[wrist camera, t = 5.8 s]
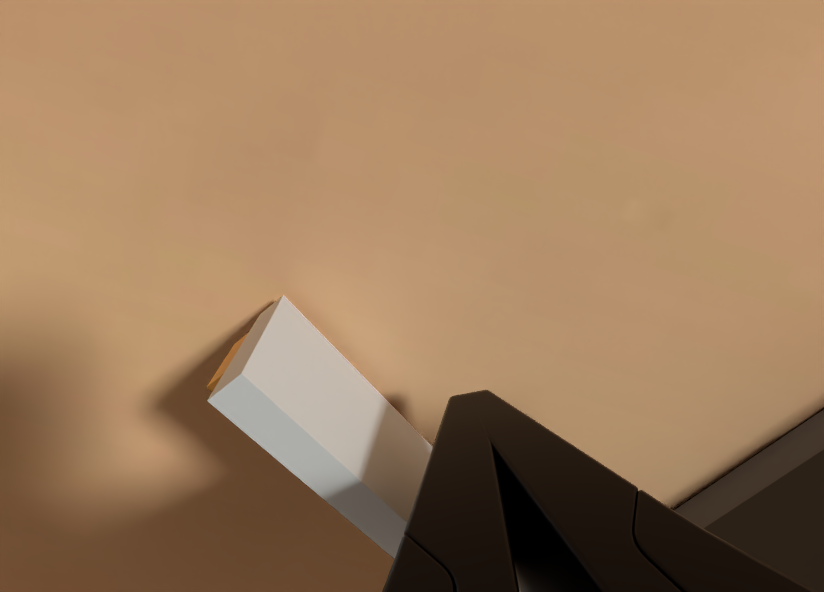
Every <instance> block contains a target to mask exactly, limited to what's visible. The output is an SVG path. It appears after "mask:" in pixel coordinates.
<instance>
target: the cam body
mask: <svg viewBox="0 0 824 592" xmlns="http://www.w3.org/2000/svg"><path fill="white" fill-rule="evenodd" d="M674 511H675V512H677V513H679V514H680V515H682V516H683V517H685V518H687V519H688V520H690V521H692V522H693V523H695V524H696V525H698V526H700V527H701V528H703V529H705V530H706V531H708V532H710V533H712V534H713V535H715V536H717V537H719V538H720V539H722V540H724V541H726V542H727V543H729V544H731V545H733V546H735V547H736V548H738V549H740V550H742V551H743V552H745V553H747V554H749V555H750V556H752V557H754V558H756V559H758V560H760V561H761V562H763V563H765V564H767V565H769V566H771V567H772V568H774V569H776V570H778V571H780V572H782V573H783V574H785V575H787V576H789V577H791V578H793V579H795V580H796V581H798V582H800V583H802V584H804V585H806V586H807V587H809V588H811V589H813V590H815V591H817V592H824V410H822V411H821V412H819V413H818V414H816V415H815V416H813V417H812V418H810V419H809V420H807V421H806V422H804V423H803V424H801V425H800V426H798V427H797V428H795V429H794V430H793V431H791V432H790V433H788V434H787V435H785V436H784V437H782V438H781V439H779V440H778V441H776V442H775V443H773V444H772V445H770V446H769V447H767V448H766V449H764V450H763V451H761V452H760V453H758V454H757V455H755V456H754V457H752V458H751V459H749V460H748V461H747V462H745V463H744V464H742V465H741V466H739V467H738V468H736V469H735V470H733V471H732V472H730V473H729V474H727V475H726V476H724V477H723V478H721V479H720V480H718V481H717V482H715V483H714V484H712V485H711V486H709V487H708V488H706V489H705V490H704V491H702V492H701V493H699V494H698V495H696V496H695V497H693V498H692V499H690V500H689V501H687V502H686V503H684V504H683V505H681V506H680V507H678V508H677V509H675V510H674Z"/></svg>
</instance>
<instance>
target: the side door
mask: <svg viewBox="0 0 824 592" xmlns="http://www.w3.org/2000/svg"><path fill="white" fill-rule="evenodd" d="M206 388H208V389H209V390H210V391H211V392H212V393H211V395H210V397H209V398H208V400H207V401H208V402H209V403H210V404H211V405H212V406H214V407H215V408H216V409H217V410H218V411H220V412H221V413H222V414H223V415H224V416H226V417H227V418H228V419H229V420H230V421H231V422H233V423H234V424H235V425H236V426H237V427H239V428H240V429H241V430H242V431H243V432H244V433H246V434H247V435H248V436H249V437H250V438H252V439H253V440H254V441H255V442H256V443H257V444H259V445H260V446H261V447H262V448H263V449H265V450H266V451H267V452H268V453H269V454H271V455H272V456H273V457H274V458H275V459H276V460H278V461H279V462H280V463H281V464H282V465H284V466H285V467H286V468H287V469H288V470H289V471H291V472H292V473H293V474H294V475H295V476H297V477H298V478H299V479H300V480H301V481H302V482H304V483H305V484H306V485H307V486H308V487H310V488H311V489H312V490H313V491H314V492H316V493H317V494H318V495H319V496H320V497H321V498H323V499H324V500H325V501H326V502H327V503H329V504H330V505H331V506H332V507H333V508H334V509H336V510H337V511H338V512H339V513H340V514H342V515H343V516H344V517H345V518H346V519H347V520H349V521H350V522H351V523H352V524H353V525H355V526H356V527H357V528H358V529H359V530H361V531H362V532H363V533H364V534H365V535H366V536H368V537H369V538H370V539H371V540H372V541H374V542H375V543H376V544H377V545H378V546H379V547H381V548H382V549H383V550H384V551H385V552H387V553H388V554H389V555H390V556H391V557H392V558H394V559H395V557H396V554H397V551H398V548H399V545H400V542H401V539H402V537H403V536H404V531H405V528H406V525H407V522H408V519H409V516H410V513H411V510H412V507H413V504H414V501H415V498H416V495H417V493H418V490H419V487H420V484H421V481H422V478H423V475H424V472H425V469H426V466H427V463H428V460H429V457H430V454H431V451H432V448H433V447H432V446H431V445H430V444H429V443H428V442H427V441H426V440H425V439H424V438H423V437H422V436H421V435H420V433H419V432H418V431H417V430H416V429H415V428H414V427H413V426H412V425H411V424H410V423H409V422H408V421H407V420H406V419H405V418H404V417H403V416H402V415H401V414H400V413H399V412H398V411H397V410H396V409H395V408H394V407H393V406H392V405H391V404H390V403H389V402H388V401H387V400H386V399H385V398H384V397H383V396H382V395H381V394H380V393H379V392H378V391H377V390H376V389H375V388H374V387H373V386H372V385H371V384H370V383H369V382H368V381H367V380H366V379H365V377H364V376H363V375H362V374H361V373H360V372H359V371H358V370H357V369H356V368H355V367H354V366H353V365H352V364H351V363H350V362H349V361H348V360H347V359H346V358H345V357H344V356H343V355H342V354H341V353H340V352H339V351H338V350H337V349H336V348H335V347H334V346H333V345H332V344H331V343H330V342H329V341H328V340H327V339H326V338H325V337H324V336H323V335H322V334H321V333H320V332H319V331H318V330H317V329H316V328H315V327H314V326H313V325H312V324H311V323H310V321H309V320H308V319H307V318H306V317H305V316H304V315H303V314H302V313H301V312H300V311H299V310H298V309H297V308H296V307H295V306H294V305H293V304H292V303H291V302H290V301H289V300H288V299H287V298H286V297H285V296H284V295H283V296H282V297H280V298H279V299H278V300H277V301H276V302H274V303H273V304H272V305H271V306H269V307H268V308H267V309H266V310H265V311H263V312H262V313H261V314H260V315H259V317H258V318H257V320H256V321H255V323H254V325H253V326H252V328H251V330H250V331H249V332H248V333H247V334H246V335H245V336H244V337H242V338H241V339H240V340H239V341H237V342H236V343H235V344H234V345H233V347H232V348H231V350H230V351H229V353H228V354H227V356H226V358H225V359H224V361H223V362H222V364H221V365H220V367H219V368H218V370H217V371H216V373H215V375H214V376H213V378H212V379H211V381H210V382H209V384H208V385H207V387H206ZM519 591H520V589H519Z"/></svg>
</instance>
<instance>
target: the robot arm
mask: <svg viewBox="0 0 824 592" xmlns="http://www.w3.org/2000/svg"><path fill="white" fill-rule="evenodd" d="M519 589H520V591H519ZM382 592H817V591H815V590H813V589H811V588H809V587H807V586H806V585H804V584H802V583H800V582H798V581H796V580H795V579H793V578H791V577H789V576H787V575H785V574H783V573H782V572H780V571H778V570H776V569H774V568H772V567H771V566H769V565H767V564H765V563H763V562H761V561H760V560H758V559H756V558H754V557H752V556H750V555H749V554H747V553H745V552H743V551H742V550H740V549H738V548H736V547H735V546H733V545H731V544H729V543H727V542H726V541H724V540H722V539H720V538H719V537H717V536H715V535H713V534H712V533H710V532H708V531H706V530H705V529H703V528H701V527H700V526H698V525H696V524H695V523H693V522H692V521H690V520H688V519H687V518H685V517H683V516H682V515H680V514H679V513H677V512H675V511H674V510H672V509H671V508H669V507H667V506H666V505H664V504H663V503H661V502H660V501H658V500H656V499H655V498H653V497H652V496H650V495H649V494H647V493H646V492H644V491H642V490H639V491H638V488H637V487H636V486H635V485H633V484H632V483H630V482H628V481H627V480H625V479H624V478H622V477H621V476H619V475H618V474H616V473H615V472H613V471H612V470H610V469H608V468H607V467H605V466H604V465H602V464H601V463H599V462H598V461H596V460H595V459H593V458H592V457H590V456H588V455H587V454H585V453H584V452H582V451H581V450H579V449H578V448H576V447H575V446H573V445H572V444H570V443H568V442H567V441H565V440H564V439H562V438H561V437H559V436H558V435H556V434H555V433H553V432H552V431H550V430H549V429H547V428H545V427H544V426H542V425H541V424H539V423H538V422H536V421H535V420H533V419H532V418H530V417H529V416H527V415H525V414H524V413H522V412H521V411H519V410H518V409H516V408H515V407H513V406H512V405H510V404H509V403H507V402H505V401H504V400H502V399H501V398H499V397H498V396H496V395H495V394H493V393H492V392H490V391H488V390H482V391H477V392H472V393H467V394H461V395H456V396H452V397H450V399H449V401H448V404H447V407H446V410H445V413H444V416H443V419H442V422H441V425H440V428H439V431H438V434H437V437H436V439H435V442H434V445H433V448H432V451H431V454H430V457H429V460H428V463H427V466H426V469H425V472H424V475H423V478H422V481H421V484H420V487H419V490H418V493H417V495H416V498H415V501H414V504H413V507H412V510H411V513H410V516H409V519H408V522H407V525H406V528H405V531H404V536H403V537H402V539H401V542H400V545H399V548H398V551H397V554H396V557H395V560H394V562H393V565H392V568H391V570H390V573H389V575H388V578H387V581H386V583H385V586H384V589H383V591H382Z"/></svg>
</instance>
